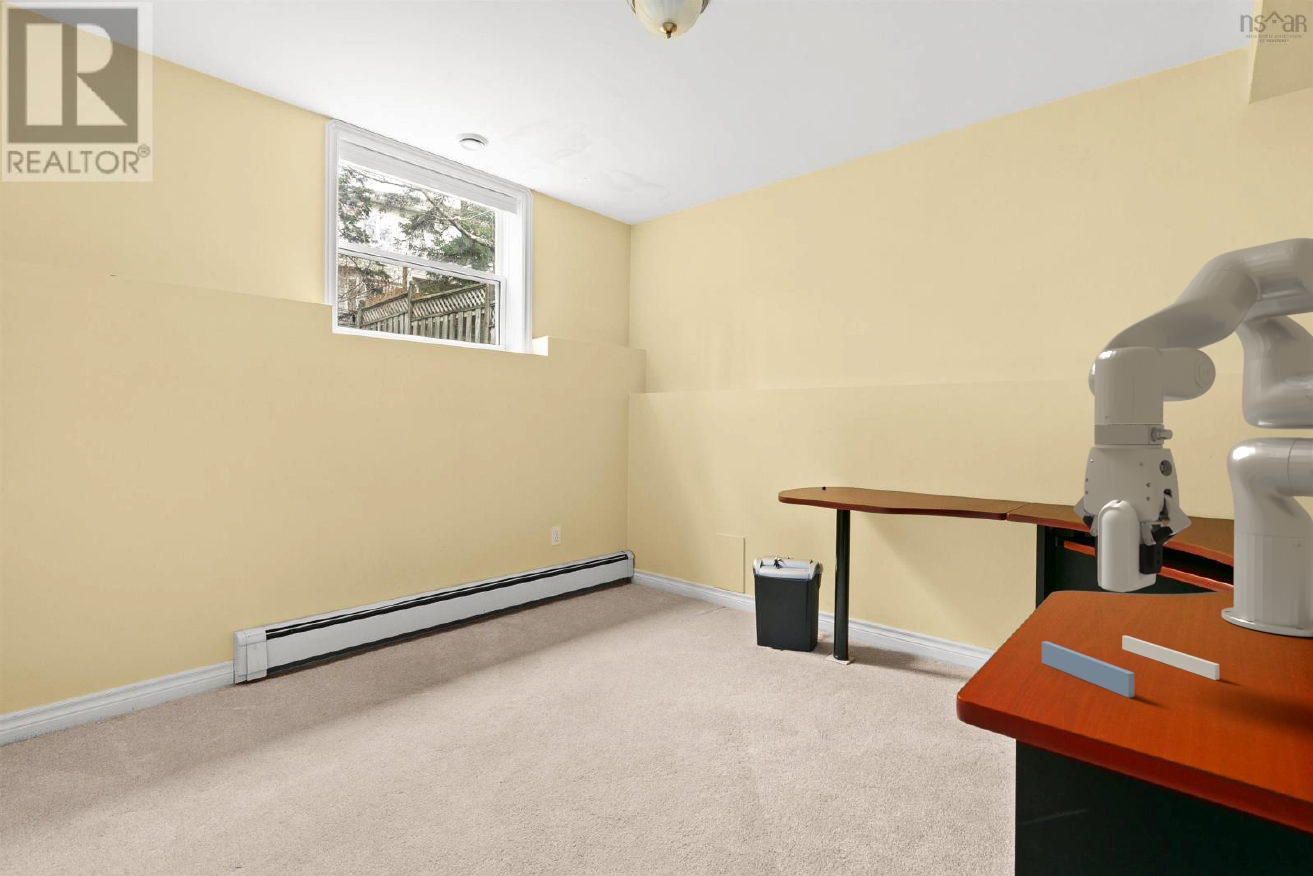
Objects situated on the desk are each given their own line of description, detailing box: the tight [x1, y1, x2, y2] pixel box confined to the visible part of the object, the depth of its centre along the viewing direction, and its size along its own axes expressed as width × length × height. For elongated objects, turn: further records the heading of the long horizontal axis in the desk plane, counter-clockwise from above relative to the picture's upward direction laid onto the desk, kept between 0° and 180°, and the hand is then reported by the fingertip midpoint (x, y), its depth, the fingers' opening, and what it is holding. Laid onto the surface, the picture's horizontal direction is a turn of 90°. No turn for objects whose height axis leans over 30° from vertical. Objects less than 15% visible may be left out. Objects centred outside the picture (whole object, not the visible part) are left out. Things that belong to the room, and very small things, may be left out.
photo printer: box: [1097, 500, 1157, 593], centre depth 84 cm, size 10×4×12 cm, turn 123°
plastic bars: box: [1041, 635, 1220, 699], centre depth 84 cm, size 17×12×3 cm
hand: (1127, 567), depth 84 cm, fingers closed on photo printer, 5 cm apart
